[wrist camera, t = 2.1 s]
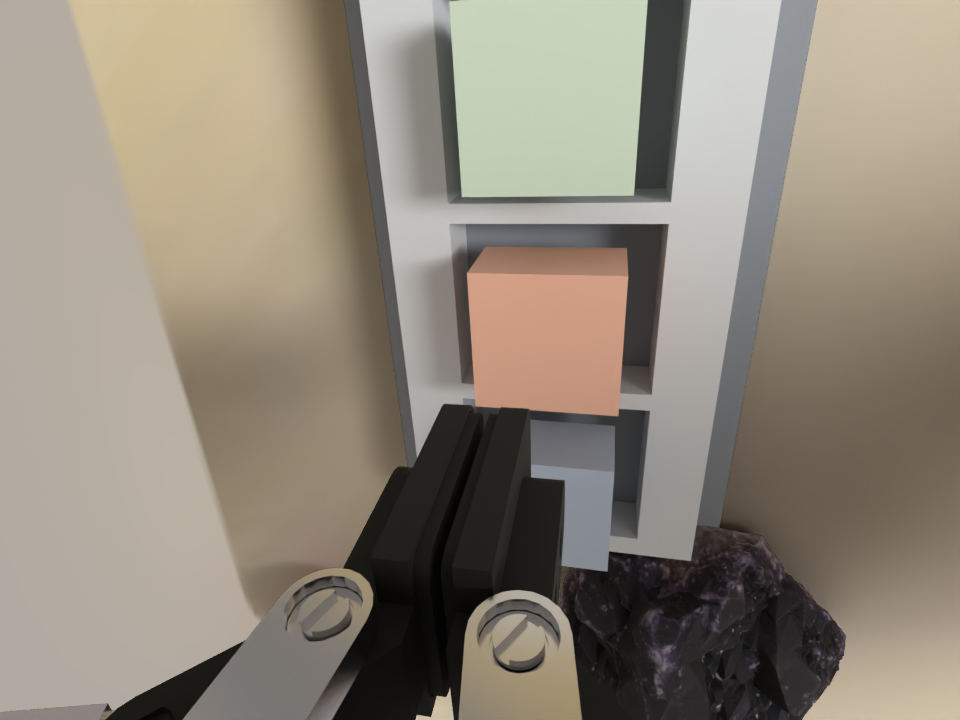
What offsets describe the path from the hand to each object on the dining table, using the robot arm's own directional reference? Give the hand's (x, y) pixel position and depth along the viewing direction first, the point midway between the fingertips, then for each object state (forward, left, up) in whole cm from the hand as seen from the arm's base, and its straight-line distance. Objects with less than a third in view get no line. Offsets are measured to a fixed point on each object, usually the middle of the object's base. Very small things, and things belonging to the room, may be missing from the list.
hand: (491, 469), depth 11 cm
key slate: (0, +6, -8) cm, 10 cm away
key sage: (0, -6, -8) cm, 10 cm away
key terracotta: (0, 0, -8) cm, 8 cm away
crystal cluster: (-6, +17, -12) cm, 22 cm away
